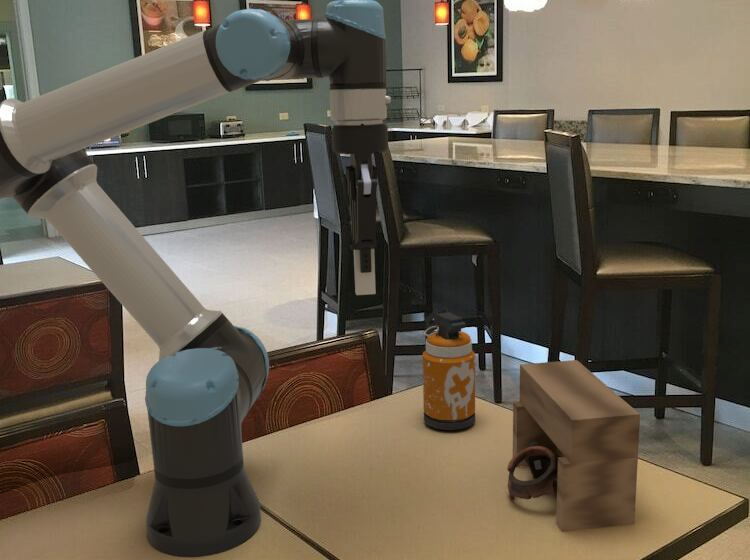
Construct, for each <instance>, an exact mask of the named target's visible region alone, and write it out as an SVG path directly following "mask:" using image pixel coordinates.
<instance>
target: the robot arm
mask: <svg viewBox="0 0 750 560" xmlns="http://www.w3.org/2000/svg"><path fill="white" fill-rule="evenodd" d="M325 11H326V13H325V14H324V17H319V18H314V19H306V18H304V19H283V18H281V17H279V16H276V15H274V14H272V13H270V12H269V11H265V10H264V9H260V8H258V9H257V8H256V9H255V8H254V9H253V8H247V9H240V10H237V11H234V12H232V13H230V14H229V15H227V16H226V18H225V19H223V21H222V22H221V23H219V24H217V25H214V26H212V27H211V28H209V29H206V30H205V29H204V30H202V31H200V32H197V33H194V34H192V35H190V36H188V37H184V38H182V39H180V40H177V41H174V42H172V43H169V44H167V45H165V46H161V47H160V48H157V49H154V50H152V51H149V52H146V53H145V54H142V55H139V56H136V57H134V58H132V59H129V60H127V61H124V62H121V63H119V64H117V65H113V66H112V67H109V68H107V69H105V70H102V71H99V72H96V73H94V74H91V75H88V76H86V77H84V78H80V79H79V80H77V81H73V82H71V83H69V84H66V85H64V86H61V87H58V88H56V89H53V90H51V91H49V92H46V93H44V94H41V95H39V96H35V97H34V98H31V99H29V100H26V101H24V102H23V101H21V100H19V99H17V98H7V99H4V100H1V101H0V200H1V199H6V198H11V197H12V199H13V200H15V201H16V203H17V204H18V205H19V206H20V207H21V208H22V209H23V211H24V212H25V213H26V214H27V216H29V217H30V218H34V219H42V220H46V221H48V223H50V225H51V226H52V227H53V228H54V229H55V230H56V232H57V233H58V234H59V235H60V236H61V237H62V239H64V240H65V242H66V243H67V244H68V245H69V246H70V247H71V248H72V250H73V251H74V252H75V253H76V255H78V256H79V258H80V259H81V260H82V261H83V263H85V265H86V266H87V267H88V268H89V269H90V270H91V272H93V274H94V275H95V276H96V277H97V278H98V279H99V280H100V281H101V282H102V283H103V285H104V286H105V287H106V289H108V291H109V292H110V293H111V294H112V295H113V297H115V298H116V300H117V301H118V302H119V303H120V304H121V306H122V307H123V308H125V310H126V311H127V312H128V313H129V314H130V315H131V316H132V318H133V319H134V320H135V322H137V323H138V325H139V326H140V327H141V328H142V329H143V330H144V331H145V333H146V334H147V335H148V336H149V337H150V339H151V340H153V342H154V343H155V344H156V345H157V346H158V349H159V351H158V352H159V353H158V354H159V355H158V361H157V362H156V363H155V364H153V365H152V367H151V368H150V369H149V371H148V373H147V375H146V380H145V397H144V400H145V401H144V403H145V406H146V410H147V418H148V424H149V425H148V427H149V436H150V446H151V452H152V461H153V462H152V463H153V470H154V485H153V488H152V492H151V497H150V500H149V506H148V508H147V513H146V518H145V519H146V520H145V525H146V534H147V540H148V542H149V543H150V545H151V547H153V548H155V549H156V550H158V551H160V552H161V553H163V554H166V555H170V556H177V557H186V558H187V557H188V558H189V557H190V558H191V557H192V558H195V557H196V558H197V557H205V556H206V557H207V556H212V555H215V554H220V553H222V552H226V551H229V550H231V549H233V548H236V547H238V546H240V545H242V544H243V543H245V542H246V541H247V540H249V539H251V537H252V536H254V535H255V533H256V532H257V531H258V529H260V528H259V527H260V525H261V522H262V513H261V504H260V501H259V500H260V499H259V497H258V495H257V493H256V491H255V488H254V487H253V484H252V482H251V480H250V477H249V475H248V473H247V471H246V468H245V465H244V464H245V463H244V450H243V437H242V434H243V433H242V423H243V421H244V419H245V418H246V416H247V415H248V413H249V412H250V410H251V408H252V407H253V405H254V403H255V401H257V400H258V399H259V398H260V396H261V394H262V392H264V389H265V387H266V384H267V379H268V376H269V372H270V360H269V359H270V358H269V354H268V352H267V349H266V347H265V345H264V342H262V340H261V339H260V338H259V337H258V336H257V334H255V333H254V332H252V331H251V330H249V329H247V328H245V327H241V326H240V327H239V326H237V325H234V324H233V323H232V322H231V321H230V320H229V318H227V317H226V315H225V314H224V313H223V312H222V311H221V310H213V309H207V308H205V307H204V306H203V304H202V303H201V302H200V301H199V300H198V298H196V296H195V295H194V294H193V292H192V291H191V290H190V289H189V288H188V287H187V285H185V283H184V282H183V281H182V280H181V278H179V276H178V275H177V274H176V273H175V272H174V271H173V269H171V267H170V266H169V265H168V264H167V262H165V260H164V259H163V258H162V257H161V255H159V254H158V252H157V251H156V250H155V249H154V248H153V247H152V245H151V244H150V243H149V242H148V241H147V239H146V238H145V237H144V236H143V235H142V233H141V232H140V231H139V230H138V229H137V228H136V226H134V224H132V222H131V221H130V220H129V219H128V217H127V216H126V215H125V213H123V211H122V210H121V209H120V208H119V207H118V206H117V205H116V204H115V202H114V201H113V200H112V199H111V198H110V196H109V195H108V194H107V193H106V192H105V191H104V190H103V189H102V187H101V186H100V185H99V184H98V181H97V177H98V166H97V165H96V164H95V162H94V161H93V160H92V159H91V158H90V157H89V156H88V153H87V148H88V147H91V146H93V145H96V144H99V143H101V142H104V141H107V140H109V139H110V140H111V139H113V138H115V137H118V136H120V135H123V134H125V133H128V132H130V131H133V130H135V129H137V128H141V127H143V126H145V125H148V124H150V123H151V124H152V123H153V122H156V121H159V120H161V119H164V118H165V117H168V116H171V115H174V114H177V113H179V112H181V111H185V110H187V109H190V108H192V107H195V106H197V105H200V104H202V103H205V102H208V101H210V100H213V99H215V98H218V97H221V96H223V95H225V94H226V95H227V94H228V93H231V92H233V91H238V90H240V89H243V88H246V87H248V86H250V85H254V84H256V83H259V82H261V81H263V82H269V81H272V80H275V81H276V80H296V79H297V80H298V79H299V80H300V79H313V78H314V79H315V78H317V79H323V78H328V79H329V109H330V110H329V112H330V120H332V122H335V124H334V125H333V126H332V127H331V145H332V146H331V147H332V148H331V149H332V152H334V153H335V154H339V155H349V165H346V166H345V168H344V170H345V177H346V179H347V195H348V196H349V198H348V199H349V211H350V226H351V228H350V229H351V232H350V237H351V239H352V244H350V245H349V246H350V250H351V251H353V267H354V288H355V289H354V292H355V295H356V296H365V295H366V296H367V295H376V293H377V292H376V291H377V290H376V264H375V263H376V262H375V261H376V260H375V259H376V258H375V248H376V247H377V245H378V241H377V191H378V190H377V187H378V183H379V182H378V178H379V177H378V176H379V175H378V167H377V166H375V165H374V164H373V157H372V155H373V154H381V153H384V152H387V150H388V149H389V135H388V134H389V130H388V125H387V124H386V123H383V121H384V120H386V119H387V118H388V109H387V105H386V104H390V103H392V97H391V96H390V95H387V56H386V55H387V44H386V43H387V36H386V27H385V15H384V7H383V6H382V5H381V4H380V3H379V2H378V1H377V0H334V1H333V0H332V1H330V2H329V3H328V4H327V5H326V10H325Z"/></svg>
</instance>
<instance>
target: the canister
mask: <svg viewBox="0 0 750 560" xmlns="http://www.w3.org/2000/svg"><path fill="white" fill-rule="evenodd" d="M424 321H425V322H424V323H425V327H426V330H425V331H424V332H423V334H424V335H425V336H426V340H425V350H424V351H423V352H422V387H423V388H422V389H423V391H422V393H423V400H422V401H423V421H424V422H425V424H426V425H428V426H430V427H433V428H436V429H439V430H444V431H455V430H461V429H465V428H468V427H470V426H471V425H473V424H475V421H476V353H475V351H474V350H473V341H472V338H471V336H470V335H469V334H468V333H467V332H464V331H462V329H465V328H466V322H465V321H463V317H461V316H458V315H456V314H454V313H451V312H449V310H448V308H447V307H446V308H445V309H443V310H442V311H441V312H439V313H438V312H437V310H436V309H435V310H433V311H432V312H430V313H429V314H428V315H427V316H426V317H425V318H424ZM431 321H433V324H429V323H430V322H431Z"/></svg>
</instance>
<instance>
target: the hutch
mask: <svg viewBox="0 0 750 560" xmlns="http://www.w3.org/2000/svg"><path fill="white" fill-rule="evenodd" d="M640 422H641V413H639V411H637V410H636V409H635V408H634V407H632V406H631V405H630V404H629V403H628V402H627V401H625V400H624V399H623V397H621V396H619V394H617V393H616V392H615V391H613V389H611V388H610V386H608V385H607V384H606V383H604V382H603V381H602V380H601V379H600V378H599V377H597V376H596V375H595V374H594V373H593V372H592V371H590V369H588V368H587V367H586V366H584V365H583V364H582V362H580V361H579V360H578V359H572V360H571V359H570V360H560V361H547V362H535V363H523V364H521V363H520V364H519V401H513V403H512V458H513V457H514V456H515V455H516V454H517V453H519V452H520V451H522V450H524V449H526V448H527V446H528V445H529V444H530V443H533V442H538V443H540V445H541V446H542V447H546V448H547V449H550V450H551V451H552V452H553V453H556V454H558V455H559V456H561V457H558V476H557V485H556V518H555V519H556V520H555V521H556V523H555V524H556V525H557V528H559V530H560V531H561V532H563V533H564V532H571V531H572V532H573V531H574V532H575V531H581V530H591V529H593V530H594V529H601V528H610V527H621V526H629V525H631V526H632V525H635V518H636V517H635V516H636V499H637V497H636V496H637V481H638V480H637V479H638V464H639V463H638V461H639V442H640V441H639V440H640V424H641V423H640ZM546 458H549V459H550V457H549V456H547V457H546ZM520 466H525V467H529V466H528V465H527V463H526V462H525V459H524V460H523V461H522V462H520V463H519V464H518V466H517V467H516V468H521V467H520Z"/></svg>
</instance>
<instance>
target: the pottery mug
mask: <svg viewBox="0 0 750 560" xmlns="http://www.w3.org/2000/svg"><path fill="white" fill-rule="evenodd" d="M547 456H549V457H550V459H549V458H546V457H547ZM558 457H561V456H559V455H558V454H556V453H553V452H552V451H551V450H550V449H547V448H546V447H542V446H541V445H540V443H538V442H533V443H530V444H529V445H528V446H527V448H526V449H524V450H522V451H520V452H519V453H517V454H516V455H515V456H514V457H513V456H512V458H511V459H510V461H509V462H508V465H507V468H506V469H507V471H508V472H509V473H508V480H507V490H508V493H509V496H510V498H511V499H514V498H519V499H521V500H522V499H524V500H531V499H532V498H533V499H537V498H540V497H542V496H546V495H548V496H552V497H555V496H556V493H555V489H554V486H557V476H558ZM524 459H525V462H526V463H527V465H528V466H527V467H528V468H529V471H530V473H531V475H532V480H521V479H519V478H518V479H517V477H515V476H514V473H515V469H516V468H518V467H517V466H518V464H519V463H520V462H522V461H523V460H524Z"/></svg>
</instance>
